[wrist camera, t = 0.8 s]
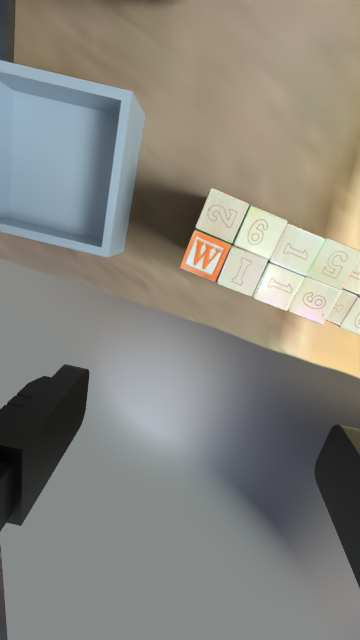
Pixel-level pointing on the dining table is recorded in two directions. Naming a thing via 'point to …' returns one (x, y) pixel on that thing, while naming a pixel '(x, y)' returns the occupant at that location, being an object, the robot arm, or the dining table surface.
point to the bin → (67, 159)
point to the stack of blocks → (275, 262)
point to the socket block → (7, 30)
